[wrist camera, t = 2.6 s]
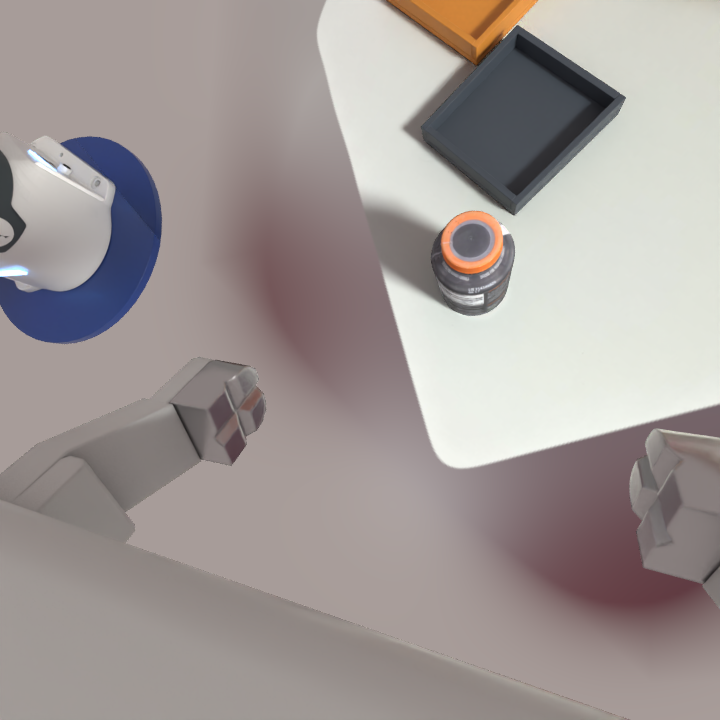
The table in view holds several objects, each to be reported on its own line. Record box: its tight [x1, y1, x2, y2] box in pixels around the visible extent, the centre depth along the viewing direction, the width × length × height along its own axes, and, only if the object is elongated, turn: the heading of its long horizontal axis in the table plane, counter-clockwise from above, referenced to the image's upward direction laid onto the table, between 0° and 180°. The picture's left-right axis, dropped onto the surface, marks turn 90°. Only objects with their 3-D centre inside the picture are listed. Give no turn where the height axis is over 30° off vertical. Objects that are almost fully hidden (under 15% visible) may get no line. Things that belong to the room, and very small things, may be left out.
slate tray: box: [421, 25, 626, 215], centre depth 37 cm, size 12×12×2 cm
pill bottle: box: [431, 211, 515, 316], centre depth 32 cm, size 6×6×11 cm
